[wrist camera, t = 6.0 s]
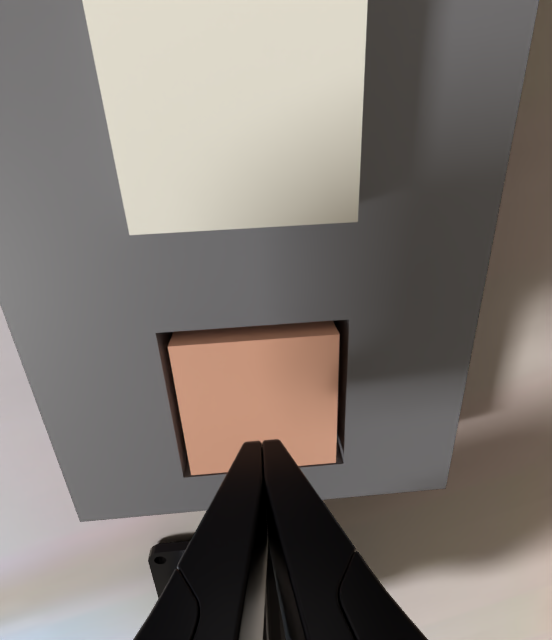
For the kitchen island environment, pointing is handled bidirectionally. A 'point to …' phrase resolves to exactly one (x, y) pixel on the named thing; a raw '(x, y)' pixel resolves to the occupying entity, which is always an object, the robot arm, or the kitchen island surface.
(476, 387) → the kitchen island surface
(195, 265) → the button panel
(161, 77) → the cream button
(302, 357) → the terracotta button
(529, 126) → the kitchen island surface
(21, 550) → the kitchen island surface
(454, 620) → the kitchen island surface
